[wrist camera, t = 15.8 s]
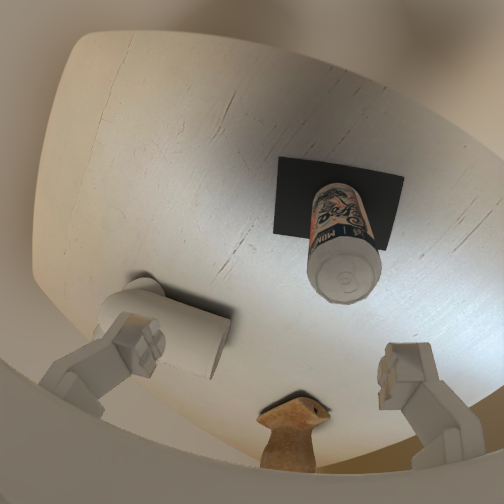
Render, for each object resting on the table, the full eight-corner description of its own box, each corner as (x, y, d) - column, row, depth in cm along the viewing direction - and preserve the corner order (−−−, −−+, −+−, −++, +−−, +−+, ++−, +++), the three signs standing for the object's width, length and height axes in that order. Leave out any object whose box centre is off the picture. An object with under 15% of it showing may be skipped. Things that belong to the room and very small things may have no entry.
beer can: (347, 172, 25) (366, 231, 15) (369, 214, 26) (394, 293, 16) (303, 195, 27) (291, 265, 17) (327, 235, 28) (327, 319, 18)
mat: (273, 232, 30) (273, 233, 30) (279, 156, 26) (278, 157, 25) (385, 249, 28) (385, 250, 28) (403, 177, 24) (404, 177, 23)
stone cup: (295, 431, 53) (284, 491, 40) (250, 412, 51) (232, 477, 39) (347, 410, 45) (342, 483, 32) (299, 387, 43) (284, 470, 31)
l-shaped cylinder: (141, 236, 32) (95, 307, 42) (107, 304, 24) (73, 359, 34) (254, 306, 39) (182, 354, 49) (250, 376, 31) (171, 405, 41)
